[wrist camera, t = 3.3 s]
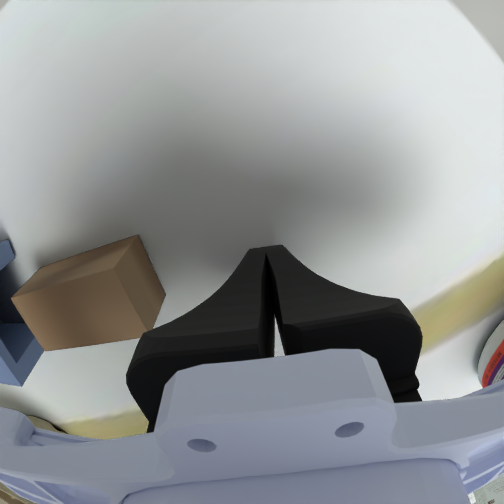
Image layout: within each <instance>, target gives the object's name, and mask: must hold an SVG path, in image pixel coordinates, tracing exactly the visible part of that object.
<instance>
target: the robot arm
mask: <svg viewBox="0 0 504 504" xmlns="http://www.w3.org/2000/svg"><path fill="white" fill-rule="evenodd" d="M275 317H276V321H277V325H278V329H279V333H280V337H281V342H282V346H283V350H284V354H285V356H280V357H274V342H275ZM422 337H423V336H422V332H421V329H420V326H419V325H418V323H417V322H416V320H415V319H414V317H413V315H412V314H411V313H410V311H409V310H408V309H407V307H406V306H405V305H404V304H403V303H402V301H401V300H400V299H396V298H389V297H381V296H374V295H370V294H365V293H361V292H357V291H354V290H351V289H348V288H345V287H342V286H340V285H337V284H335V283H333V282H330V281H329V280H327V279H325V278H323V277H321V276H319V275H317V274H316V273H314V272H313V271H311V270H310V269H308V268H307V267H306V266H304V265H303V264H302V263H301V262H300V261H299V260H297V259H296V258H295V257H294V256H293V255H292V254H291V253H290V252H289V251H288V250H287V249H286V247H284V246H283V245H275V246H268V247H261V248H253V249H249V250H248V251H247V253H246V255H245V256H244V258H243V259H242V261H241V262H240V264H239V265H238V267H237V268H236V270H235V271H234V272H233V274H232V275H231V276H230V277H229V279H228V280H227V281H226V282H225V283H224V284H223V285H222V286H221V287H220V288H219V289H218V290H217V291H216V292H215V293H214V294H213V295H212V296H211V297H209V298H208V299H207V300H205V301H204V302H203V303H201V304H200V305H198V306H197V307H196V308H194V309H193V310H191V311H189V312H188V313H186V314H184V315H183V316H181V317H179V318H177V319H175V320H173V321H171V322H169V323H167V324H164V325H162V326H160V327H157V328H155V329H152V330H150V331H147V332H144V333H143V334H142V336H141V338H140V340H139V342H138V344H137V347H136V349H135V352H134V355H133V357H132V360H131V363H130V365H129V368H128V371H127V374H126V383H127V386H128V388H129V391H130V393H131V395H132V396H133V398H134V399H135V401H136V403H137V404H138V406H139V407H140V409H141V410H142V412H143V413H144V415H145V416H146V418H147V419H148V421H149V425H148V429H147V433H146V434H141V435H135V436H129V437H122V438H116V439H109V440H102V439H95V438H88V437H81V436H75V435H70V434H64V433H59V432H54V431H49V430H45V429H40V428H36V427H35V426H34V425H33V423H32V422H31V421H30V420H29V419H28V418H27V417H26V416H25V415H24V414H23V413H21V412H19V411H17V410H13V409H9V408H5V407H0V482H1V483H3V484H4V485H5V486H6V487H8V488H9V489H10V490H12V491H13V492H14V493H16V494H17V495H19V496H21V497H23V498H25V499H27V500H30V501H32V502H34V503H37V504H471V503H470V500H469V498H468V495H469V494H470V493H472V492H474V491H476V490H478V489H479V488H481V487H483V486H485V485H486V484H488V483H490V482H491V481H493V480H495V479H496V478H498V477H499V476H501V475H503V474H504V379H503V380H501V381H499V382H496V383H494V384H492V385H490V386H487V387H485V388H483V389H480V390H478V391H475V392H473V393H471V394H468V395H466V396H463V397H460V398H454V399H445V400H434V401H422V399H421V397H420V395H419V393H418V390H417V389H418V388H419V381H418V379H417V377H416V375H415V370H416V366H417V363H418V359H419V355H420V351H421V347H422Z"/></svg>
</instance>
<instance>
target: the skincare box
mask: <svg viewBox="0 0 504 504" xmlns="http://www.w3.org/2000/svg"><path fill="white" fill-rule="evenodd" d="M474 495H475V499H476V502H477V504H504V474H503V475H501V476H499V477H498V478H496V479H495V480H493V481H491V482H490V483H488V484H486V485H485V486H483V487H481V488H479V489H478V490H476V491H474Z"/></svg>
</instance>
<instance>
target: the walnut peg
mask: <svg viewBox="0 0 504 504" xmlns="http://www.w3.org/2000/svg"><path fill="white" fill-rule="evenodd" d="M165 296H166V294H165V292H164V290H163V288H162V286H161V283H160V281H159V279H158V277H157V275H156V273H155V270H154V268H153V266H152V264H151V262H150V259H149V257H148V255H147V253H146V250H145V248H144V246H143V243H142V241H141V239H140V236H139V235H136V236H133V237H130V238H126V239H123V240H120V241H117V242H114V243H111V244H108V245H105V246H102V247H99V248H96V249H93V250H90V251H87V252H84V253H81V254H78V255H75V256H72V257H69V258H66V259H63V260H61V261H58V262H55V263H52V264H49V265H46V266H44V267H41V268H40V269H39V270H38V271H37V272H36V273H35V274H34V275H33V276H32V277H31V278H30V279H29V280H28V281H27V282H26V283H25V284H24V285H23V286H22V287H21V288H20V289H19V290H18V291H17V292H16V293H15V294H14V295H13V296H12V298H11V300H12V301H13V303H14V305H15V307H16V308H17V310H18V311H19V313H20V315H21V316H22V318H23V319H24V321H25V323H26V324H27V326H28V327H29V329H30V330H31V332H32V333H33V335H34V336H35V338H36V339H37V341H38V342H39V343H40V345H41V346H42V348H43V349H44V350H45V351H52V350H60V349H68V348H76V347H83V346H90V345H97V344H104V343H111V342H117V341H123V340H130V339H136V338H141V336H142V334H143V333H144V332H147V331H150V330H152V329H153V327H154V324H155V322H156V319H157V316H158V314H159V311H160V309H161V306H162V303H163V301H164V298H165Z"/></svg>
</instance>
